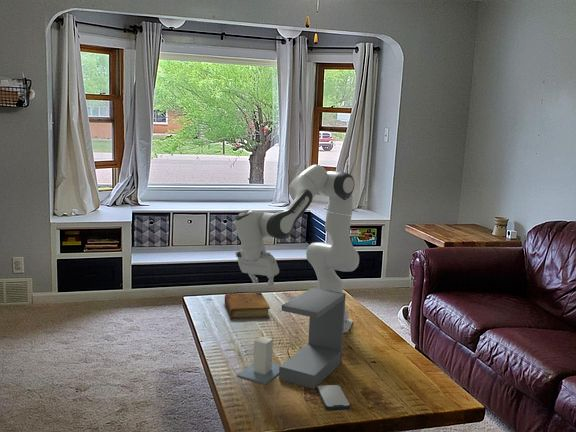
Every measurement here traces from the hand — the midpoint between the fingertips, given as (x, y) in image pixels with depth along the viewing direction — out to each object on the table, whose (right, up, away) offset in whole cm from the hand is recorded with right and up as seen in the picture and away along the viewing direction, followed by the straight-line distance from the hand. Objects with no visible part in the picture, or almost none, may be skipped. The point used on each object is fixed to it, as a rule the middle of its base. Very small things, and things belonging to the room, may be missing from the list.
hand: (263, 283), depth 222 cm
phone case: (+25, -36, -31) cm, 54 cm away
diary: (-11, -20, +54) cm, 58 cm away
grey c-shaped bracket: (+19, -31, -10) cm, 38 cm away
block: (0, -31, -13) cm, 33 cm away
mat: (0, -31, -13) cm, 34 cm away
